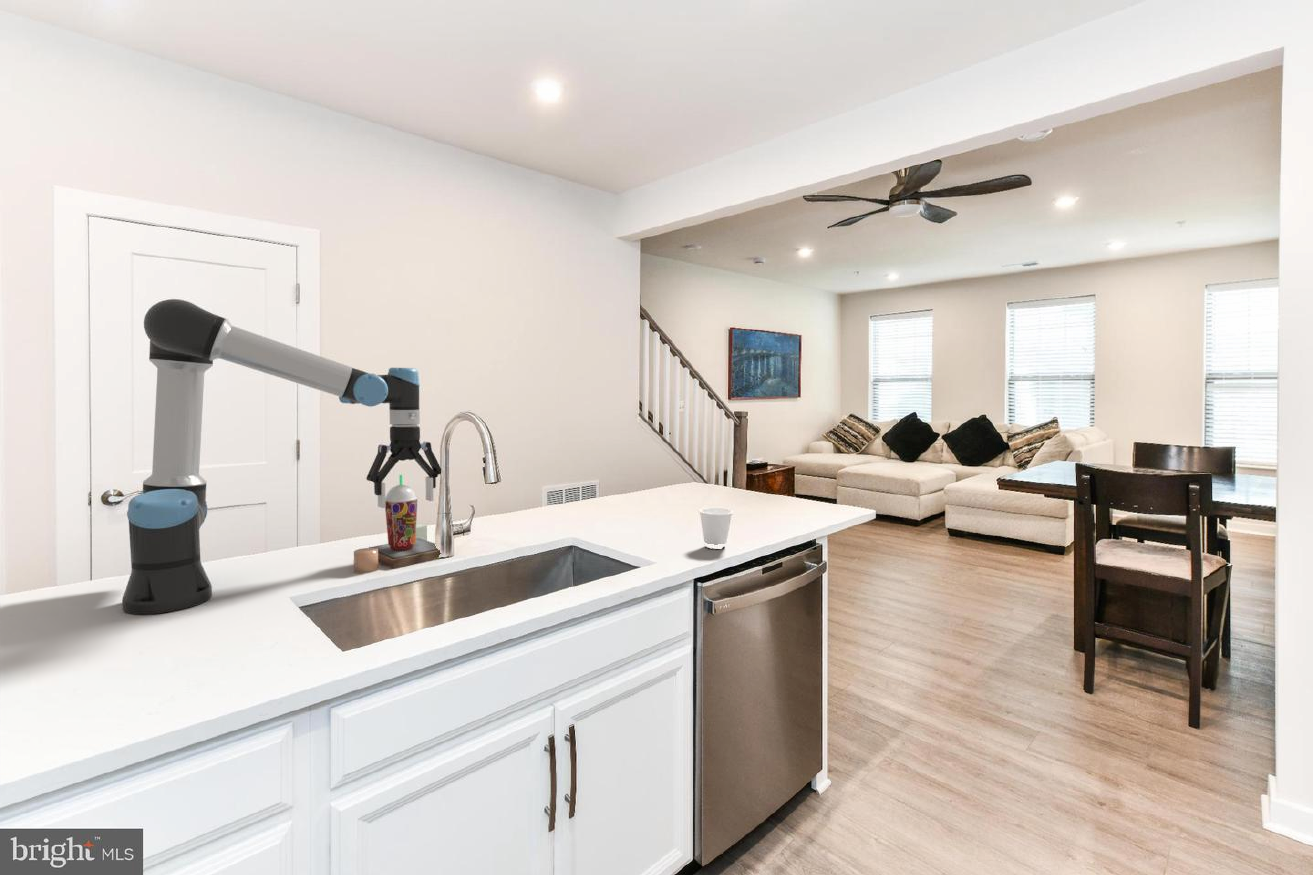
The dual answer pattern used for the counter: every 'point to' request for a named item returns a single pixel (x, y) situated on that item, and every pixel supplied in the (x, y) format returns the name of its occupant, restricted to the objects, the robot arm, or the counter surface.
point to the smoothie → (401, 517)
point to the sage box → (421, 531)
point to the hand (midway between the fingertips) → (406, 503)
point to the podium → (407, 554)
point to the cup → (715, 524)
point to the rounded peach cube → (366, 560)
